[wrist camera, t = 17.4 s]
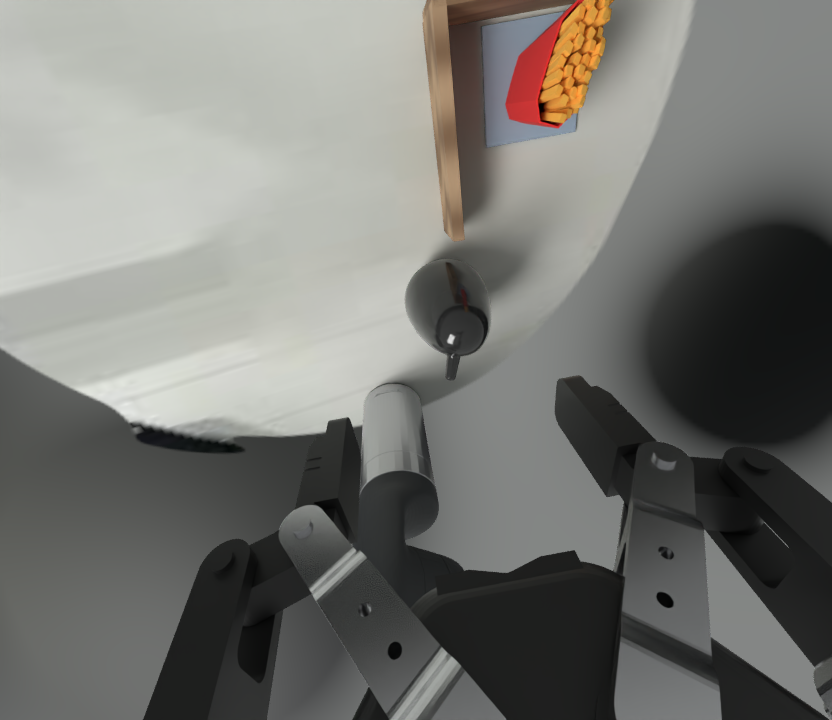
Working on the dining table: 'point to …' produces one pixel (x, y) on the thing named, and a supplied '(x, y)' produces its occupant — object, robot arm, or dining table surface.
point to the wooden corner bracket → (447, 7)
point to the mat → (498, 68)
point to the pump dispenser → (449, 309)
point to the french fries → (559, 66)
